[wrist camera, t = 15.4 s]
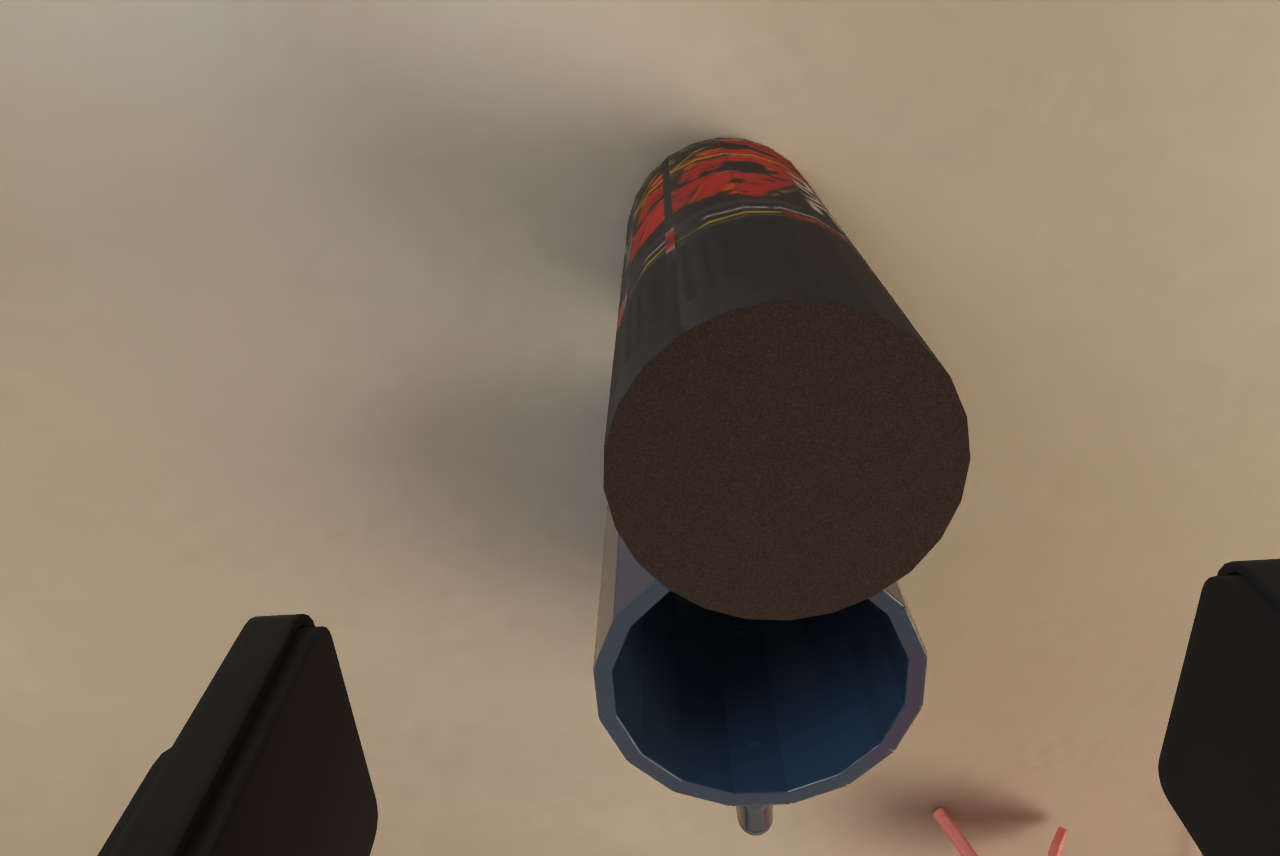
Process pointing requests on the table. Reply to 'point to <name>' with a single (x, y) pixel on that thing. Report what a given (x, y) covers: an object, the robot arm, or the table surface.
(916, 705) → the mug
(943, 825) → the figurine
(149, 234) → the table surface
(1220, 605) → the robot arm
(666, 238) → the deodorant
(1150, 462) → the table surface
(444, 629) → the table surface
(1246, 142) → the table surface
